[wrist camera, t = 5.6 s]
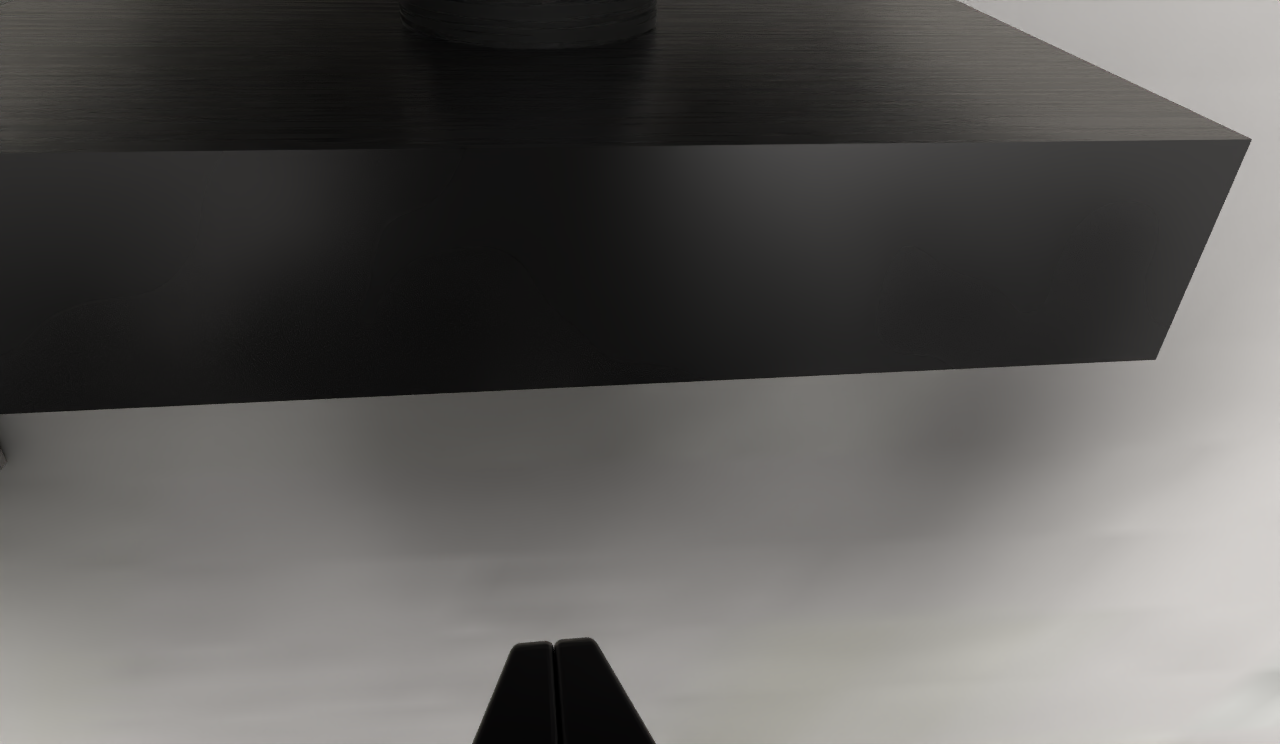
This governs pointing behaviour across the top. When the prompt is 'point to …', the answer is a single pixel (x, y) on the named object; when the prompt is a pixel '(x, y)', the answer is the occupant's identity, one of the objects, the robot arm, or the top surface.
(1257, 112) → the top surface
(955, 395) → the top surface
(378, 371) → the gauge plunger
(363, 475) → the top surface
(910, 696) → the top surface
